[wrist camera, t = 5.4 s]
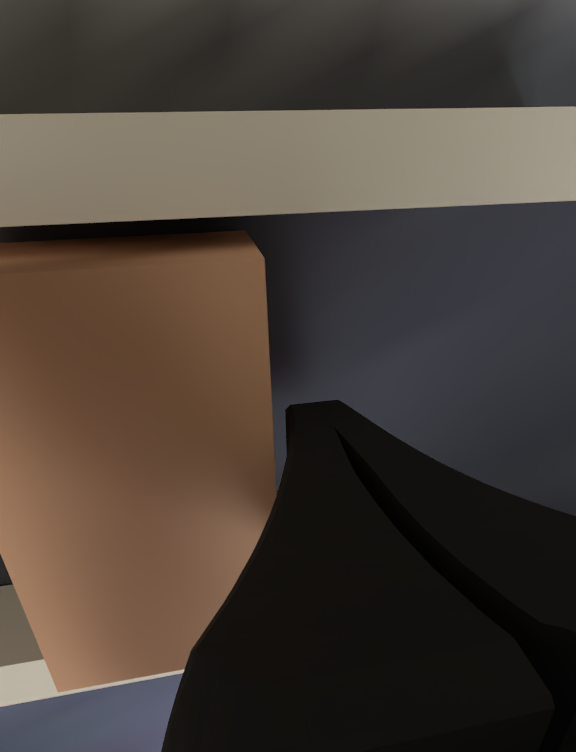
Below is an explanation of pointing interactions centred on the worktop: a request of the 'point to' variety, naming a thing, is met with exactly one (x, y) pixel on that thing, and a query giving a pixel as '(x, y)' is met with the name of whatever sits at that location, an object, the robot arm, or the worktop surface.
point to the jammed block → (131, 442)
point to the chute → (260, 199)
